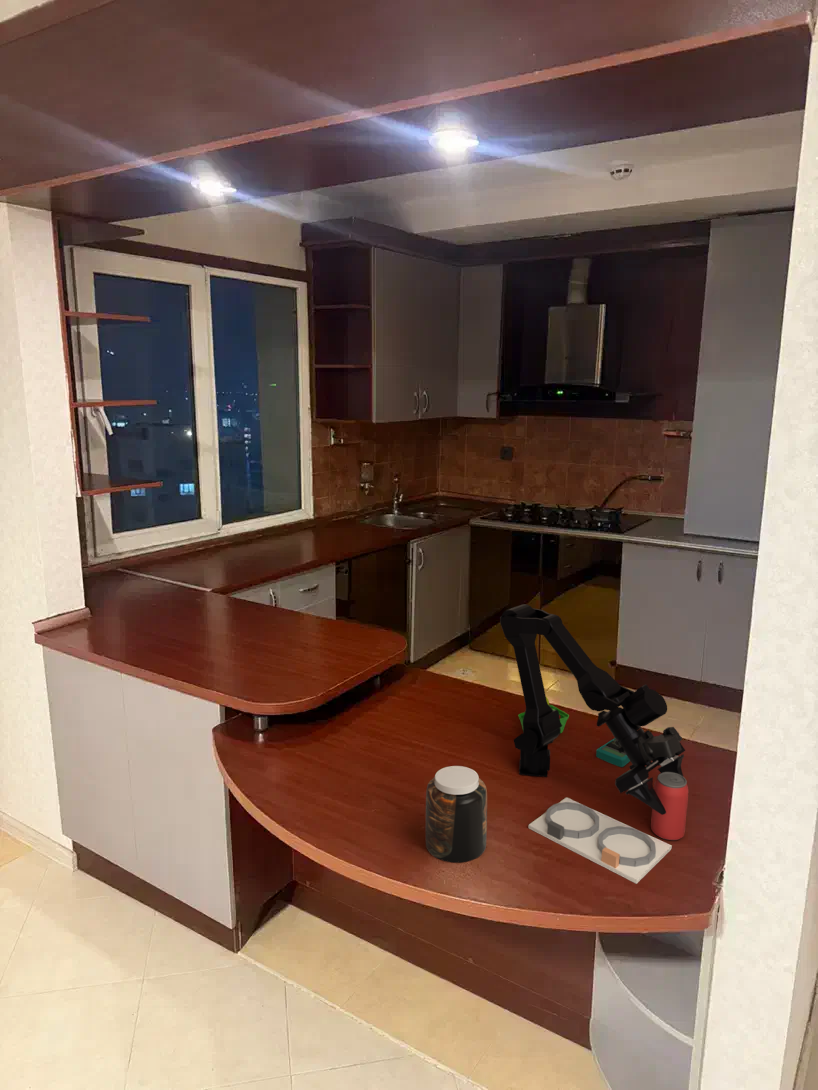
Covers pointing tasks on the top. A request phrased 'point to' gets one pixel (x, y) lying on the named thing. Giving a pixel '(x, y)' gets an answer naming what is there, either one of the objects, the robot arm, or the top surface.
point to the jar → (456, 815)
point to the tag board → (601, 839)
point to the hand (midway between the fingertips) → (675, 804)
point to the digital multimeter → (612, 754)
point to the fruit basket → (562, 715)
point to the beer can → (670, 806)
